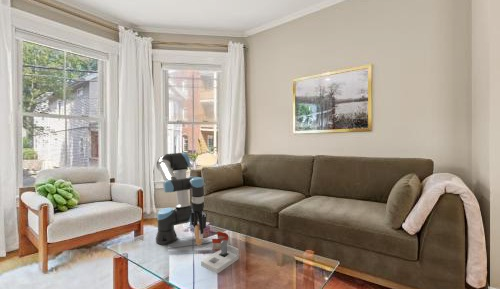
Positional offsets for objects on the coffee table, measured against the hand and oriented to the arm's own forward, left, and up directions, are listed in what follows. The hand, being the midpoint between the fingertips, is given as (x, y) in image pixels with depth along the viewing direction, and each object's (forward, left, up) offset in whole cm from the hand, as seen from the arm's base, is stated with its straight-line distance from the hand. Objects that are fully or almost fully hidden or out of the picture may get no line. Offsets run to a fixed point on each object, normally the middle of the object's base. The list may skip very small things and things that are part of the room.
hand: (198, 237), depth 169 cm
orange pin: (0, 0, -4) cm, 4 cm away
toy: (-1, +22, -16) cm, 27 cm away
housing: (+12, +7, -16) cm, 21 cm away
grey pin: (+11, +11, -16) cm, 23 cm away
